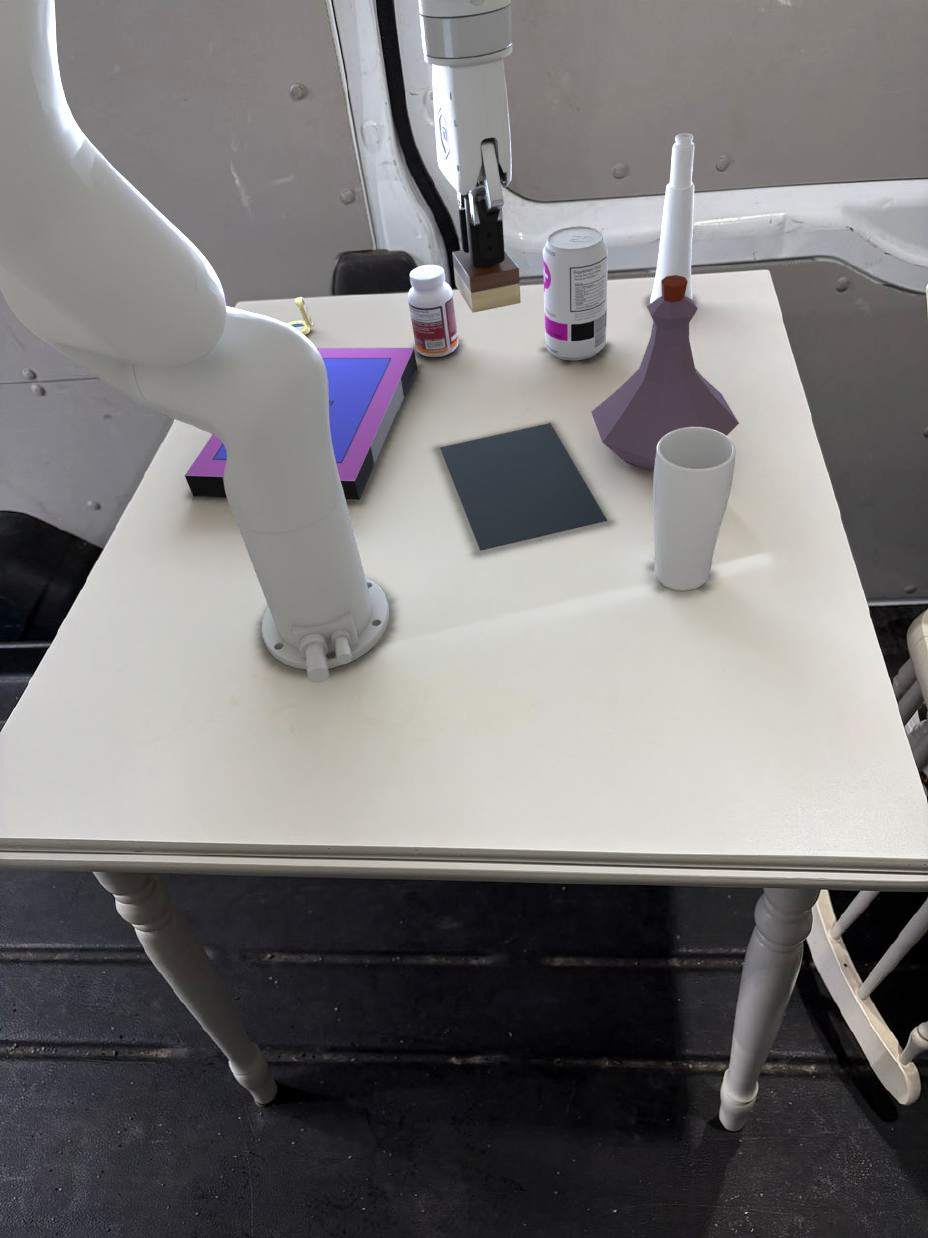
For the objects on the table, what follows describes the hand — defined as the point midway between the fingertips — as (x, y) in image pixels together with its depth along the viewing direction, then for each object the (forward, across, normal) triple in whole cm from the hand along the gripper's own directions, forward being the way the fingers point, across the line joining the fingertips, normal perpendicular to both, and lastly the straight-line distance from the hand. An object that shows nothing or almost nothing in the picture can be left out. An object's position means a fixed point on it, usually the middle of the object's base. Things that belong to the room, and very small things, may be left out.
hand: (483, 254), depth 83 cm
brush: (+4, 0, 0) cm, 4 cm away
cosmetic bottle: (+23, -27, +34) cm, 50 cm away
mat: (+24, +6, +1) cm, 25 cm away
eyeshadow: (+24, -43, -19) cm, 53 cm away
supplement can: (+24, -21, +17) cm, 36 cm away
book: (+24, -16, -20) cm, 35 cm away
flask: (+24, +6, +18) cm, 30 cm away
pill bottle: (+24, -29, -1) cm, 37 cm away
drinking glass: (+24, +26, +11) cm, 37 cm away
